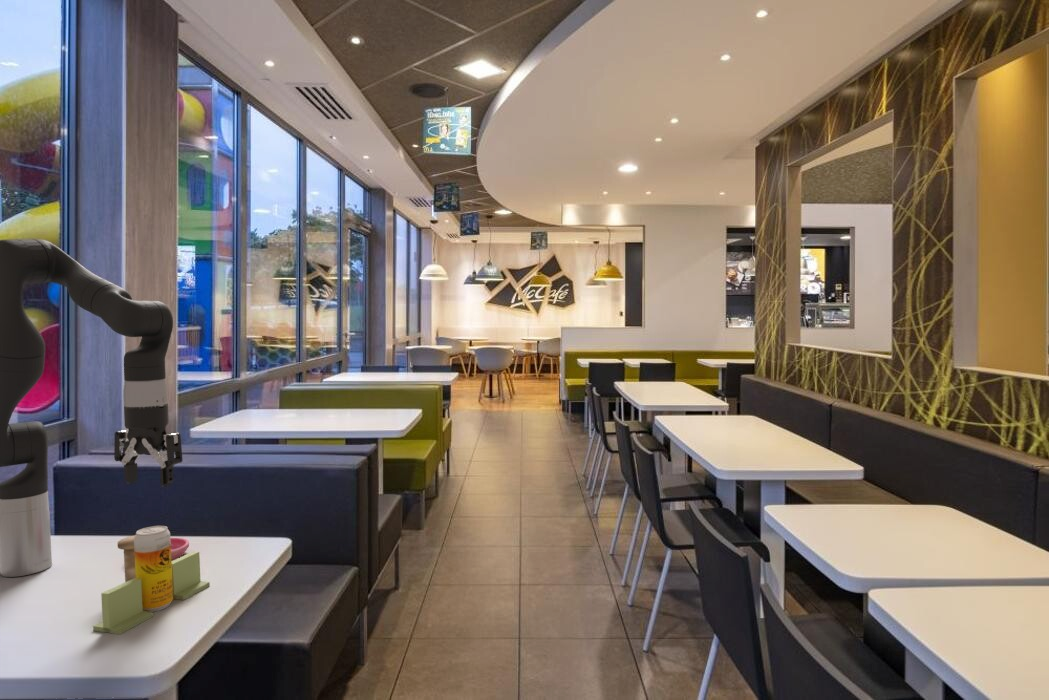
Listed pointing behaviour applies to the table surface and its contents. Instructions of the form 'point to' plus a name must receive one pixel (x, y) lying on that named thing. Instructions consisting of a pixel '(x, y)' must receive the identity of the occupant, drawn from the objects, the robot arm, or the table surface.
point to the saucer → (178, 547)
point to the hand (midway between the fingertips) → (149, 484)
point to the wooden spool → (128, 557)
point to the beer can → (154, 567)
